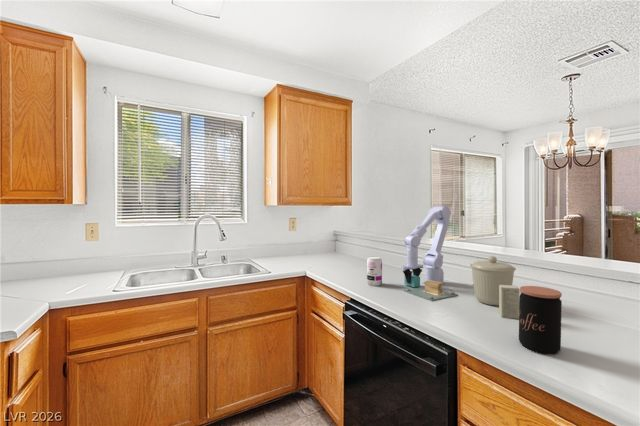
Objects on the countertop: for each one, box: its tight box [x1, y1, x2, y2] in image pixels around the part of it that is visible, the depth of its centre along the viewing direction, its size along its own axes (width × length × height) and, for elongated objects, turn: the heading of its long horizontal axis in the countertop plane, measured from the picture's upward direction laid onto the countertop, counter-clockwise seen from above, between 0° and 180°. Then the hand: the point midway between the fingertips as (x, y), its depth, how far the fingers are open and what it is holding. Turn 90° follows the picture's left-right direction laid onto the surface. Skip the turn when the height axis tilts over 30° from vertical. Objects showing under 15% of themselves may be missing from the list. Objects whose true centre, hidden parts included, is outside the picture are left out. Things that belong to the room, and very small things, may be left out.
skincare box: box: [498, 284, 520, 320], centre depth 121 cm, size 6×4×12 cm
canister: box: [469, 255, 517, 307], centre depth 138 cm, size 18×18×21 cm
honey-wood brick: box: [424, 280, 444, 294], centre depth 152 cm, size 4×7×5 cm, turn 42°
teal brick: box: [404, 274, 421, 288], centre depth 165 cm, size 4×7×5 cm, turn 28°
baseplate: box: [403, 285, 459, 302], centre depth 152 cm, size 18×18×1 cm
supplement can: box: [366, 256, 383, 287], centre depth 169 cm, size 8×8×15 cm
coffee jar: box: [518, 285, 563, 355], centre depth 95 cm, size 11×11×18 cm
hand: (412, 282), depth 165 cm, fingers closed on teal brick, 4 cm apart
